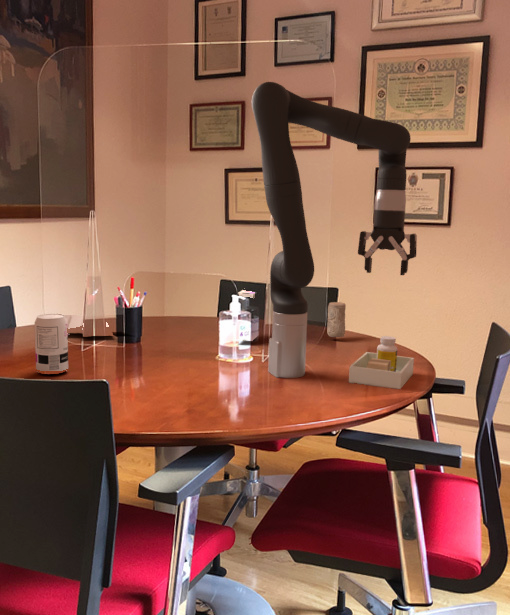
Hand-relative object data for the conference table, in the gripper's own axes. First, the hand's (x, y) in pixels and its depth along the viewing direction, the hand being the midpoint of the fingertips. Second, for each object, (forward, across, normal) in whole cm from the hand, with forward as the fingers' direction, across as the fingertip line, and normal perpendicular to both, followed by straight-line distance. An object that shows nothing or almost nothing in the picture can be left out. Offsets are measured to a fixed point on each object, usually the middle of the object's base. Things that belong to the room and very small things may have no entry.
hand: (385, 273), depth 156 cm
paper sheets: (+30, +109, -16) cm, 114 cm away
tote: (+29, 0, -4) cm, 29 cm away
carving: (+29, +27, -49) cm, 63 cm away
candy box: (+29, +52, -32) cm, 68 cm away
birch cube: (+28, 0, 0) cm, 28 cm away
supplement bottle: (+28, 0, -8) cm, 29 cm away
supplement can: (+30, +80, +32) cm, 91 cm away
